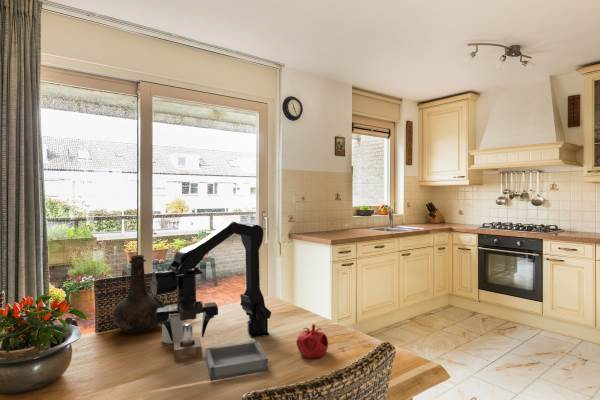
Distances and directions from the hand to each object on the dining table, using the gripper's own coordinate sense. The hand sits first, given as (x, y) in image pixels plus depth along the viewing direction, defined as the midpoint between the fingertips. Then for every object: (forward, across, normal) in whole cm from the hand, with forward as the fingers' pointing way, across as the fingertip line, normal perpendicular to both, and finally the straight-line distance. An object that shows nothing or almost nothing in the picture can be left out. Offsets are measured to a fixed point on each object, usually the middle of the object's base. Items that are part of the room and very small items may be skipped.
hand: (187, 338), depth 117 cm
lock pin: (+4, 0, 0) cm, 4 cm away
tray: (+5, +13, -13) cm, 19 cm away
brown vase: (+5, -16, +30) cm, 34 cm away
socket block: (+5, 0, 0) cm, 5 cm away
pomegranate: (+5, +37, -14) cm, 40 cm away
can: (+5, -4, +13) cm, 15 cm away
